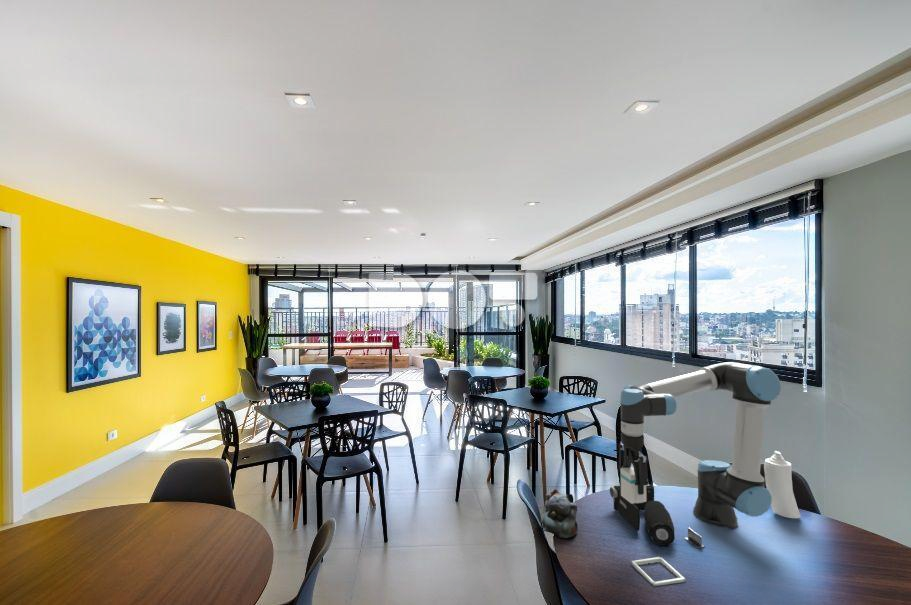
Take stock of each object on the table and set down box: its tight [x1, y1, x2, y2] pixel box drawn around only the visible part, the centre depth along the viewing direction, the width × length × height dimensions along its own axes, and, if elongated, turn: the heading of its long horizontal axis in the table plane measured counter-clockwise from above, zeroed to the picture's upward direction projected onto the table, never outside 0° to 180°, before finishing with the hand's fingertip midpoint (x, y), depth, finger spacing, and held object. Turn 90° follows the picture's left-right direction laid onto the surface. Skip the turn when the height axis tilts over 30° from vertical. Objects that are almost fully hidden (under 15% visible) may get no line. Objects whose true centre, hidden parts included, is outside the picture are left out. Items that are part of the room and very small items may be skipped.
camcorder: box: [609, 483, 655, 532], centre depth 163 cm, size 20×18×10 cm
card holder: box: [684, 527, 706, 549], centre depth 146 cm, size 3×6×4 cm, turn 11°
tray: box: [630, 556, 686, 587], centre depth 129 cm, size 11×11×2 cm
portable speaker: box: [643, 500, 676, 546], centre depth 152 cm, size 9×9×20 cm
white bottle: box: [763, 450, 802, 519], centre depth 167 cm, size 12×11×25 cm
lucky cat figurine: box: [540, 488, 579, 539], centre depth 155 cm, size 15×12×14 cm
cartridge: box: [619, 466, 647, 504], centre depth 144 cm, size 6×6×10 cm
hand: (633, 497), depth 144 cm, fingers closed on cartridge, 6 cm apart
